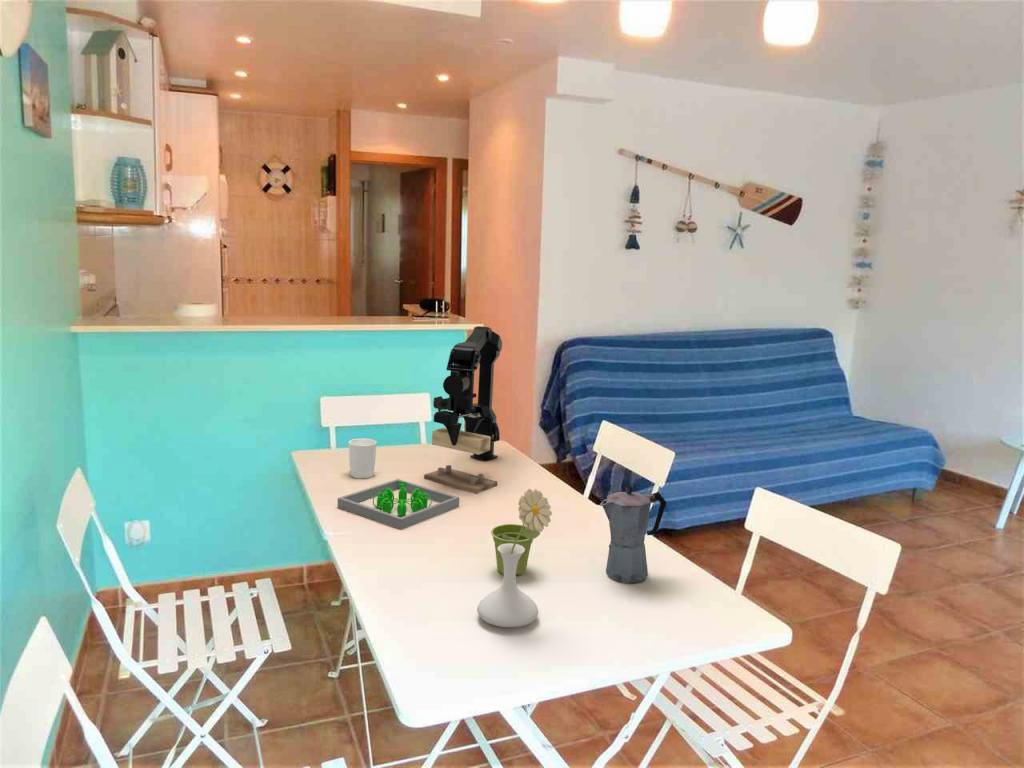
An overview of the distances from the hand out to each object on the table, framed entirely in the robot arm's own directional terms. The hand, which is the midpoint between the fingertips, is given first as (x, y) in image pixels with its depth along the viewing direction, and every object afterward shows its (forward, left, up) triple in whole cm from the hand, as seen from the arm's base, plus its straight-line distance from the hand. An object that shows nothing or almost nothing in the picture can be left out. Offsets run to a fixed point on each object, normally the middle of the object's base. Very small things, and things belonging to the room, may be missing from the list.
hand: (461, 443), depth 217 cm
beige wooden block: (0, 0, -1) cm, 1 cm away
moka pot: (+24, +66, -12) cm, 71 cm away
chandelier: (+27, +3, -12) cm, 30 cm away
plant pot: (+39, +46, -12) cm, 61 cm away
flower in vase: (+56, +58, -12) cm, 81 cm away
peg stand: (0, 0, -12) cm, 12 cm away
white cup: (+15, -24, -12) cm, 31 cm away
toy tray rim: (+27, +2, -12) cm, 29 cm away
